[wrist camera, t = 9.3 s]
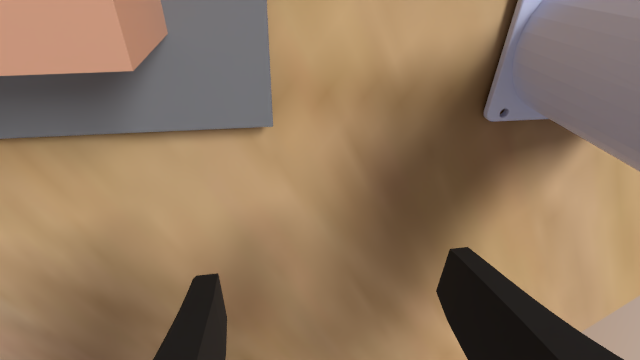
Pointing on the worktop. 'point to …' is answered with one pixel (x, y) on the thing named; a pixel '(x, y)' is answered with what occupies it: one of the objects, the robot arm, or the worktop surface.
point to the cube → (77, 35)
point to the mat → (158, 81)
